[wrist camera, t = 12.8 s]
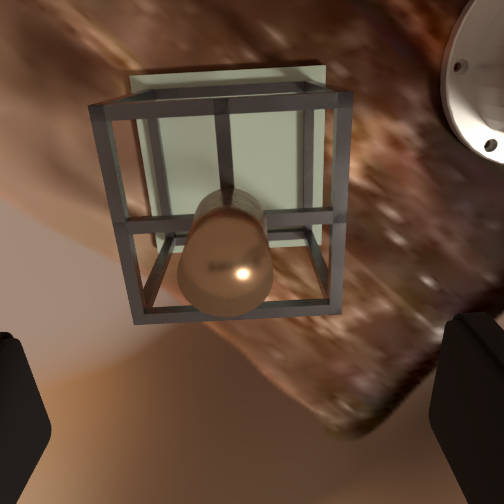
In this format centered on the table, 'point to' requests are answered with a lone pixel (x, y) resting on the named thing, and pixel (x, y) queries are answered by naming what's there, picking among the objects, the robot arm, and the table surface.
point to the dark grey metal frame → (227, 207)
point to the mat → (234, 148)
